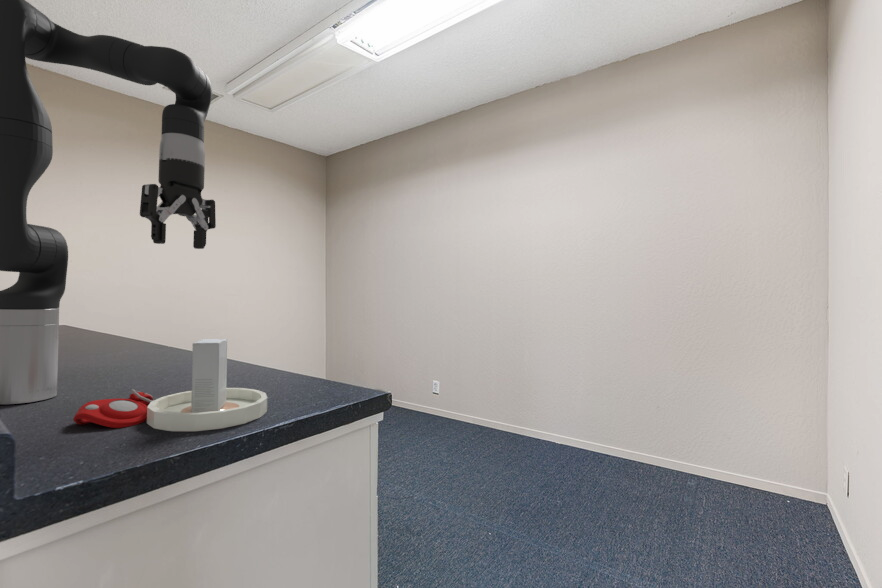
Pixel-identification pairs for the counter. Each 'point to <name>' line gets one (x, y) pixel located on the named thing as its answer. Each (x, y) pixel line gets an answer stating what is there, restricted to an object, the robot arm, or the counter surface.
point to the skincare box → (209, 375)
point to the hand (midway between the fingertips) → (179, 246)
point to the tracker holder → (115, 411)
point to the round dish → (178, 416)
